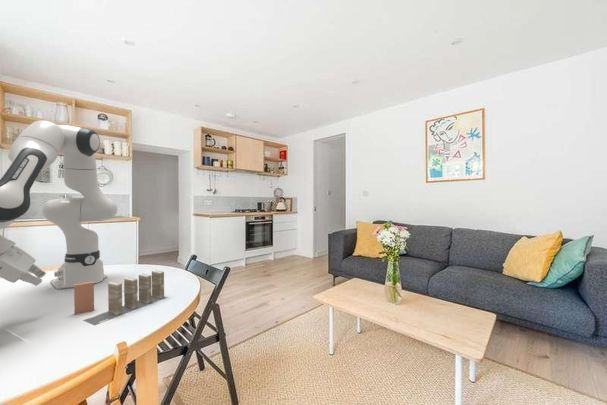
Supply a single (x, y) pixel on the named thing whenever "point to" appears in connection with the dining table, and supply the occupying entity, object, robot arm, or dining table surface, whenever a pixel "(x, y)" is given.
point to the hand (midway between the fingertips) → (41, 279)
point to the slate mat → (108, 316)
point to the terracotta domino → (84, 297)
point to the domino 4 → (158, 284)
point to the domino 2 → (130, 293)
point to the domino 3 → (145, 288)
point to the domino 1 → (115, 298)
